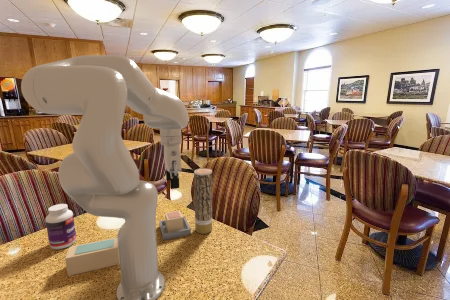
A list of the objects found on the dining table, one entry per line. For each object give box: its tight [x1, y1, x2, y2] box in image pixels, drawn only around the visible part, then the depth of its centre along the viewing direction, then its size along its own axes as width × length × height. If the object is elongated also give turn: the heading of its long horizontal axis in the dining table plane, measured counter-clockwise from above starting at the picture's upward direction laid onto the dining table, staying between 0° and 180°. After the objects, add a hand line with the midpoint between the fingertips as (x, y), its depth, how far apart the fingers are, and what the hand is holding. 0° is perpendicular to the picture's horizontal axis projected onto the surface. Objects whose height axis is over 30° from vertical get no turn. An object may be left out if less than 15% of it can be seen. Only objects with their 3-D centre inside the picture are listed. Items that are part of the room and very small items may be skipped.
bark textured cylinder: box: [193, 167, 213, 235], centre depth 91 cm, size 7×7×25 cm
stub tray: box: [158, 216, 192, 241], centre depth 93 cm, size 11×11×2 cm
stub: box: [164, 210, 184, 232], centre depth 92 cm, size 6×6×6 cm
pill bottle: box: [45, 203, 77, 250], centre depth 82 cm, size 8×8×14 cm
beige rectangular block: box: [64, 237, 120, 277], centre depth 73 cm, size 6×14×6 cm, turn 112°
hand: (172, 184), depth 89 cm, fingers open, 9 cm apart
